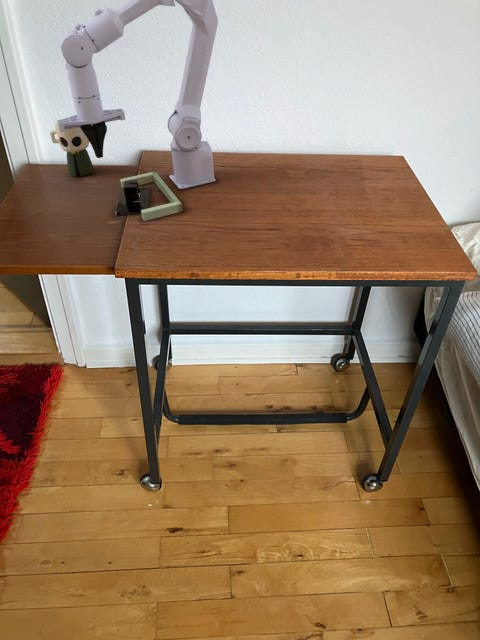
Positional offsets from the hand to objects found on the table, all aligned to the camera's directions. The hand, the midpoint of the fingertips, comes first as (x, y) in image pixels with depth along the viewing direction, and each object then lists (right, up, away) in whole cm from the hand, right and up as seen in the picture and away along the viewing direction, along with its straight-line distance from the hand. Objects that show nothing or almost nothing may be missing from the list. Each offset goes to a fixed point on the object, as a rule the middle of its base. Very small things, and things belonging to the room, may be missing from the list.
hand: (99, 156), depth 122 cm
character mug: (-9, 0, +16) cm, 18 cm away
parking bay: (+11, -9, +3) cm, 15 cm away
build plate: (+7, -10, +3) cm, 13 cm away
